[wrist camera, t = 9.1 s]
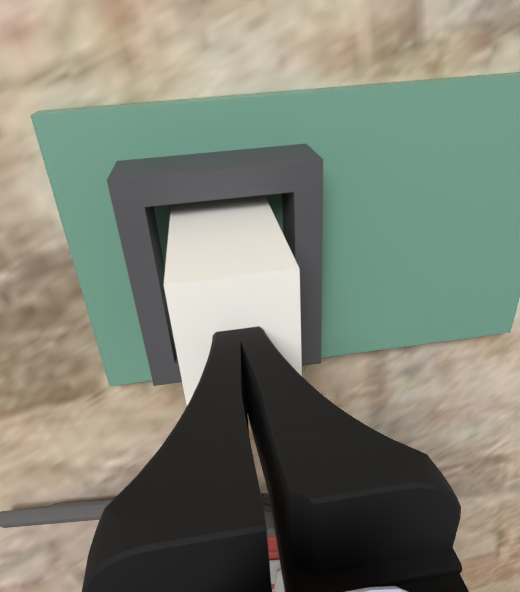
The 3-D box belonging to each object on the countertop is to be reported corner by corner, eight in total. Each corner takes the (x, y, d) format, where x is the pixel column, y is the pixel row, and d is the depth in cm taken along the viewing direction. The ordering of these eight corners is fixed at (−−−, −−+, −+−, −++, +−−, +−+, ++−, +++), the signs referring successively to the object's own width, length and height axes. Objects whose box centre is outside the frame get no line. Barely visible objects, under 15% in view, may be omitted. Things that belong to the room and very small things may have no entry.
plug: (262, 189, 18) (299, 268, 12) (268, 299, 20) (302, 411, 14) (171, 198, 18) (163, 285, 12) (189, 309, 20) (190, 427, 14)
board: (560, 68, 18) (634, 76, 15) (499, 321, 24) (543, 362, 21) (38, 111, 16) (5, 128, 13) (112, 372, 22) (101, 425, 19)
